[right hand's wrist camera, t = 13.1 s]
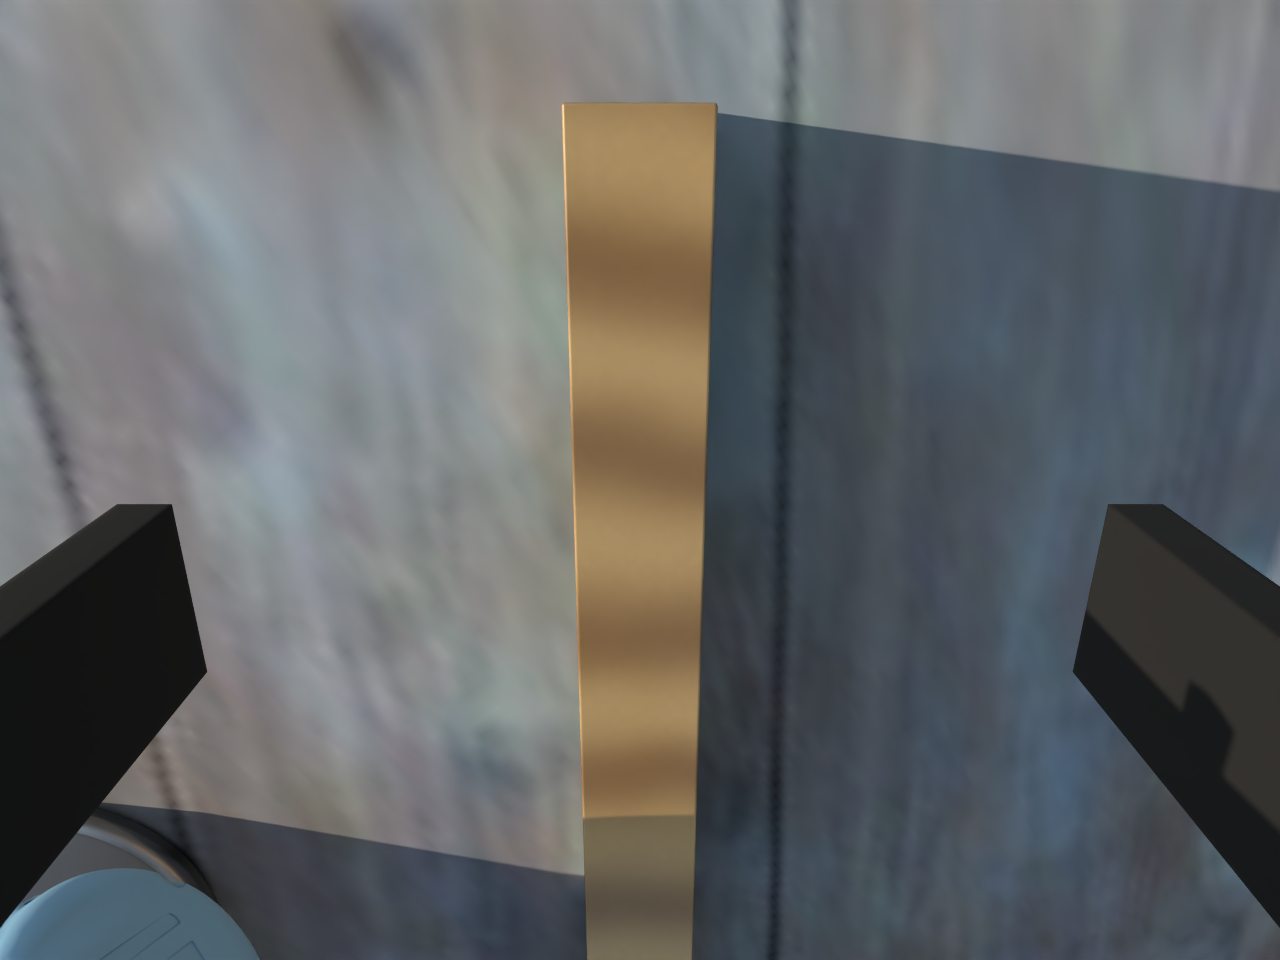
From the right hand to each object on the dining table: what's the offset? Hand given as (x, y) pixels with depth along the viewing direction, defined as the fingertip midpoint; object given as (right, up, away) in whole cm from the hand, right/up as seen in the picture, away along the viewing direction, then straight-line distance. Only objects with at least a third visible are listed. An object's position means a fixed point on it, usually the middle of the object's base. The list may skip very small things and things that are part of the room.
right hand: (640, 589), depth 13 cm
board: (0, -14, +34) cm, 37 cm away
